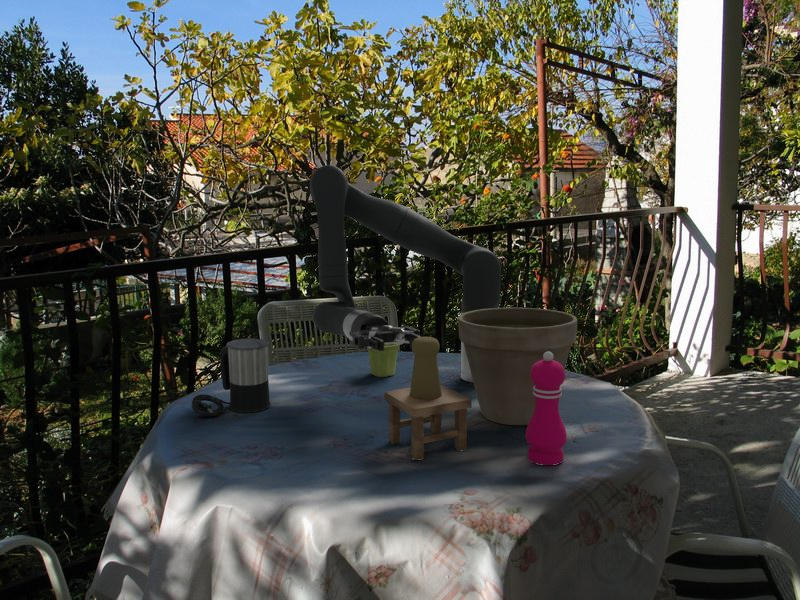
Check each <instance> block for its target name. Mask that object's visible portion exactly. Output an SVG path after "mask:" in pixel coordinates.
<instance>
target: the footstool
mask: <svg viewBox="0 0 800 600" xmlns="http://www.w3.org/2000/svg"><path fill="white" fill-rule="evenodd" d="M440 384H441V383H440ZM410 389H411V386H410V387H404V388H399V389H393V390H392V389H391V390H387V391H384V392H383V394H384V395H383V396H384V397H383V398H384V401H386V402H388V441H389V442H388V443H390V442H391V443H390V444H391V445H397V444H401V429H402V428H408V427H410V428H411V429H410V430H411V459H412V458H414V459H415V460H418V459H422V458H425V457H424V456H425V455H424V453H425V449H424V447H425V446H424V444H428V443H431V442H433V443H434V442H436V441H437V442H438V441H443V440H448V439H452V438H454V449H455V448H456V449H457V450H459V451H460V452H462V451H461V450H465V449H467V446H468V444H467V443H468V442H467V440H468V439H467V438H468V436H467V434H468V433H467V432H468V430H467V426H468V425H467V424H468V420H467V419H468V417H467V415H468V414H467V412H468V411H467V410H468V409H469V408H472V398H469V397H468V396H466V395H463V394H462V393H461V392H460V393H459V392H458V391H456V390H454V389H452V388H450V387H447V386H445V385H444V384H441V392H442V396H441V397H439V398H437V399H431V400H421V399H415V398H412V397H411V396H410ZM401 411H402V412H404V413H405V414H407V415H409V416H410V417H409V418H404V419H401ZM448 412H454V428H450V429H447V430H446V429H445V430H442V414H443V413H448ZM428 423H429V426H430V427H429V429H430V430H429V433H427V434H424V428H425V427H424V424H428ZM430 433H431V434H430ZM396 443H397V444H396ZM456 449H455V450H456ZM457 450H456V451H457ZM459 451H458V452H459ZM465 451H466V450H465ZM414 459H413V460H414ZM415 460H414V461H415Z"/></svg>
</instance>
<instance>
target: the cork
mask: <svg viewBox="0 0 800 600" xmlns="http://www.w3.org/2000/svg"><path fill="white" fill-rule="evenodd" d="M411 351H412V353H413V355H414V359H413V367H412V375H411V383H410V387H411V389H410V396H411V397H412V398H415V399H421V400H431V399H437V398H439V397H441V396H442V392H441V377H440V372H439V370H440V369H439V362H438V357H437V356H438V354H439V352H440V341H439V340H438V339H437V338H435V337H430V336H421V337H419V338H416V339H414V341H413V342H412V345H411Z"/></svg>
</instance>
